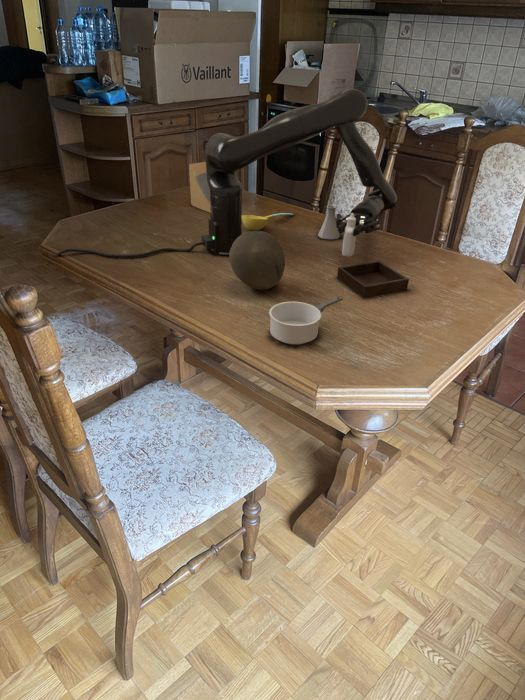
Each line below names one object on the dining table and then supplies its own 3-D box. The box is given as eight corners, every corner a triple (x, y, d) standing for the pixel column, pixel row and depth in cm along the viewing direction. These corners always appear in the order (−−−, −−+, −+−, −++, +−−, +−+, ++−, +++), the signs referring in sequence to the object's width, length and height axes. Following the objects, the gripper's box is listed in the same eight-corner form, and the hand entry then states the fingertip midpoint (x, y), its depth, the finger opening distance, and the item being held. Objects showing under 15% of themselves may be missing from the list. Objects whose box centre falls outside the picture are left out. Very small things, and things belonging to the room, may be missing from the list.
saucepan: (356, 327, 125) (359, 306, 122) (290, 353, 115) (291, 330, 112) (322, 308, 133) (324, 288, 130) (258, 331, 122) (258, 309, 119)
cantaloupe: (277, 275, 149) (279, 222, 142) (288, 297, 138) (291, 241, 130) (227, 278, 147) (226, 224, 139) (233, 300, 135) (233, 244, 127)
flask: (340, 240, 174) (344, 210, 169) (318, 239, 174) (321, 209, 169) (338, 233, 181) (341, 203, 175) (317, 232, 181) (319, 202, 175)
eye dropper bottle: (335, 253, 158) (339, 213, 151) (347, 249, 161) (352, 209, 155) (347, 258, 155) (352, 217, 149) (359, 253, 158) (364, 213, 152)
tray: (363, 298, 138) (365, 286, 137) (336, 278, 149) (338, 267, 147) (407, 290, 143) (409, 279, 142) (378, 271, 154) (379, 260, 152)
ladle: (234, 228, 179) (236, 210, 177) (280, 227, 200) (282, 211, 198) (255, 233, 174) (257, 215, 172) (299, 231, 195) (302, 215, 193)
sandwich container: (215, 215, 193) (214, 172, 186) (190, 205, 203) (188, 164, 195) (233, 210, 198) (233, 168, 191) (208, 201, 208) (207, 161, 200)
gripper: (344, 198, 165) (324, 214, 152) (389, 205, 160) (373, 222, 147) (342, 222, 169) (322, 239, 156) (386, 230, 164) (370, 248, 151)
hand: (347, 231), depth 152 cm, fingers closed on eye dropper bottle, 3 cm apart
